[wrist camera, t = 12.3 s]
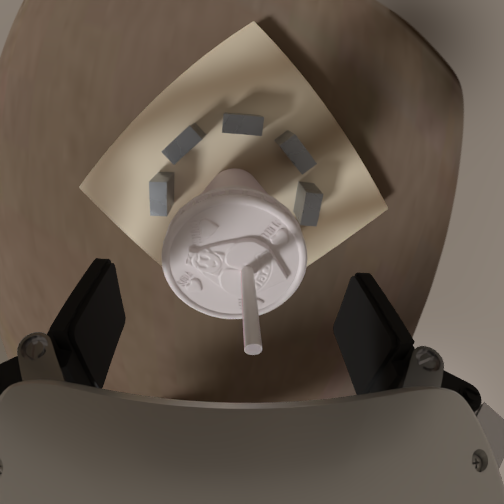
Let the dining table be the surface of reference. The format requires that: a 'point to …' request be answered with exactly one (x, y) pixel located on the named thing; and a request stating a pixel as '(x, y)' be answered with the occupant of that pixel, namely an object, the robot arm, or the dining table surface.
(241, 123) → the grey blocks
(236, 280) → the smoothie
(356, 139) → the dining table surface
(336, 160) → the socket plate
